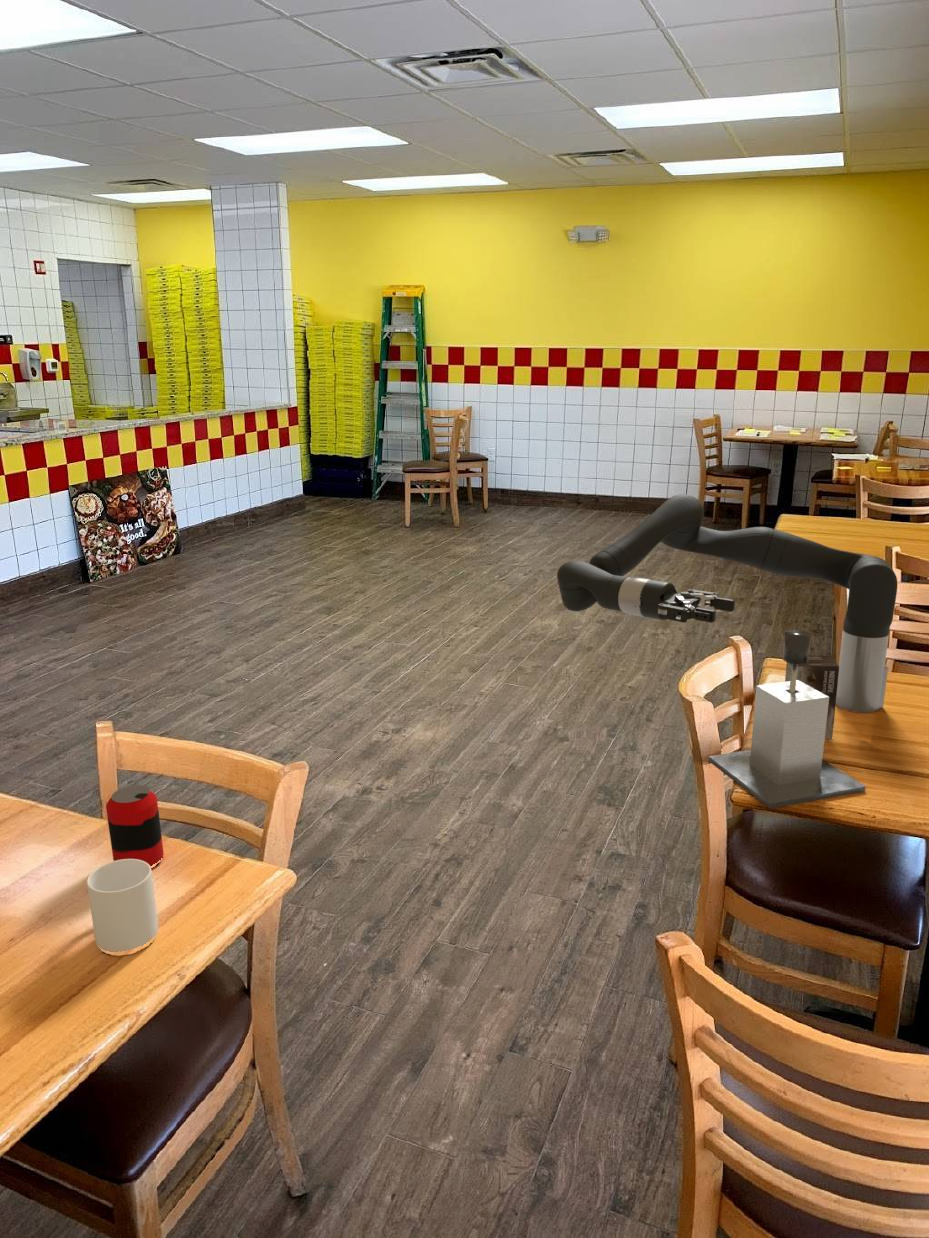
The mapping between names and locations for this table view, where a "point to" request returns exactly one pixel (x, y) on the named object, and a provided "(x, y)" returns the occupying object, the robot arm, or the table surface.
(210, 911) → the table surface
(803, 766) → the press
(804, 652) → the plunger
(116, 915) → the cup
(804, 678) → the coffee box
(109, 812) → the soda can
